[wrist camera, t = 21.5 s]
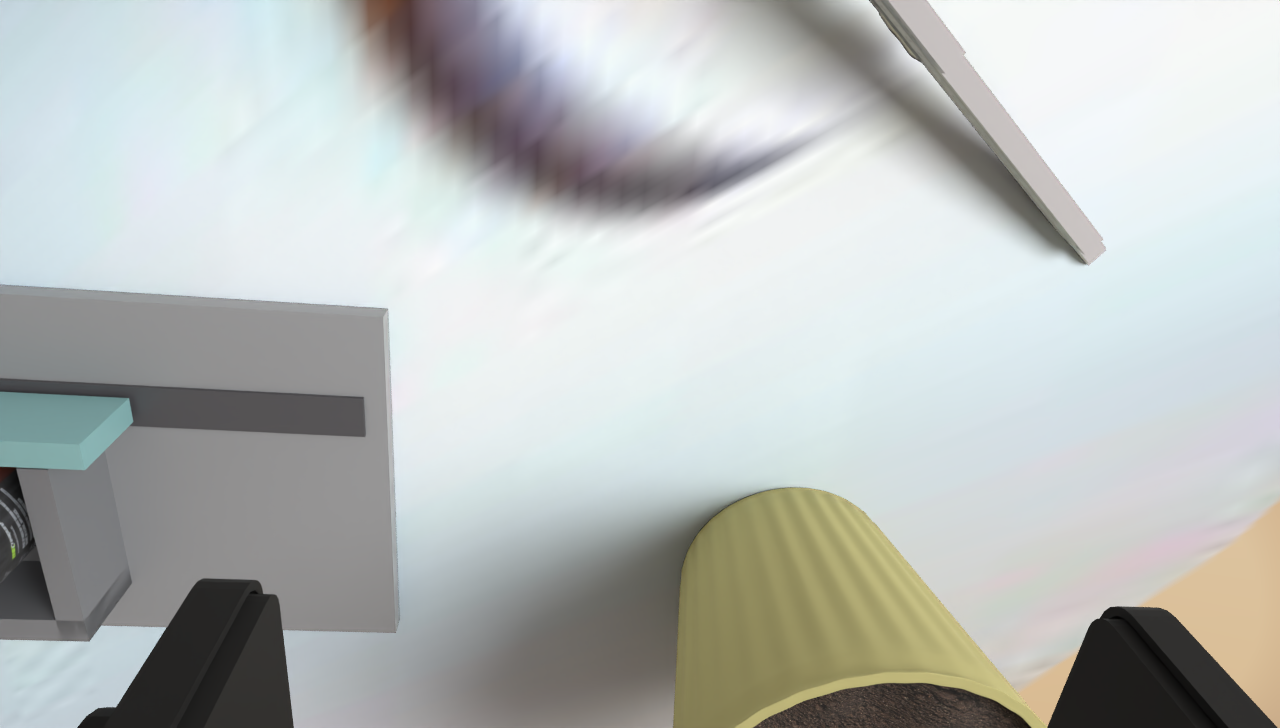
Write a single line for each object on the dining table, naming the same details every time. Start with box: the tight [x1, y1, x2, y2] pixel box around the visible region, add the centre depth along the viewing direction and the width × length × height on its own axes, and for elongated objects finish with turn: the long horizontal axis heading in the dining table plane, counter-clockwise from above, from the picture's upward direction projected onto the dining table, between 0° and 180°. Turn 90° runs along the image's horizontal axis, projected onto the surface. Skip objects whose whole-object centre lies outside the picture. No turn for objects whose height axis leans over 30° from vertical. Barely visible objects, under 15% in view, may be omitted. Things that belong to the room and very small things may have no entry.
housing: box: [0, 285, 400, 641], centre depth 37 cm, size 18×26×5 cm
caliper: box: [869, 0, 1106, 265], centre depth 32 cm, size 20×1×6 cm, turn 48°
